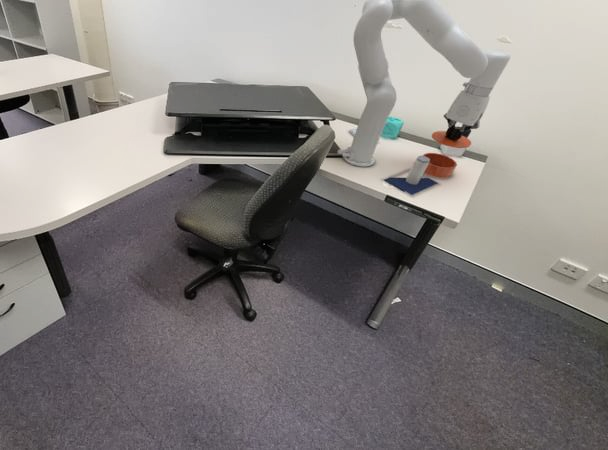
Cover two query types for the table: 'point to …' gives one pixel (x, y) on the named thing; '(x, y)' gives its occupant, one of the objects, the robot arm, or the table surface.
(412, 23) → the robot arm
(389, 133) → the decorative dice
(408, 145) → the table surface
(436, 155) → the pot
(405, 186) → the towel
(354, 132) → the hard drive
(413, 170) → the salt shaker
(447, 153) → the medicine bottle
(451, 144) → the pot lid
